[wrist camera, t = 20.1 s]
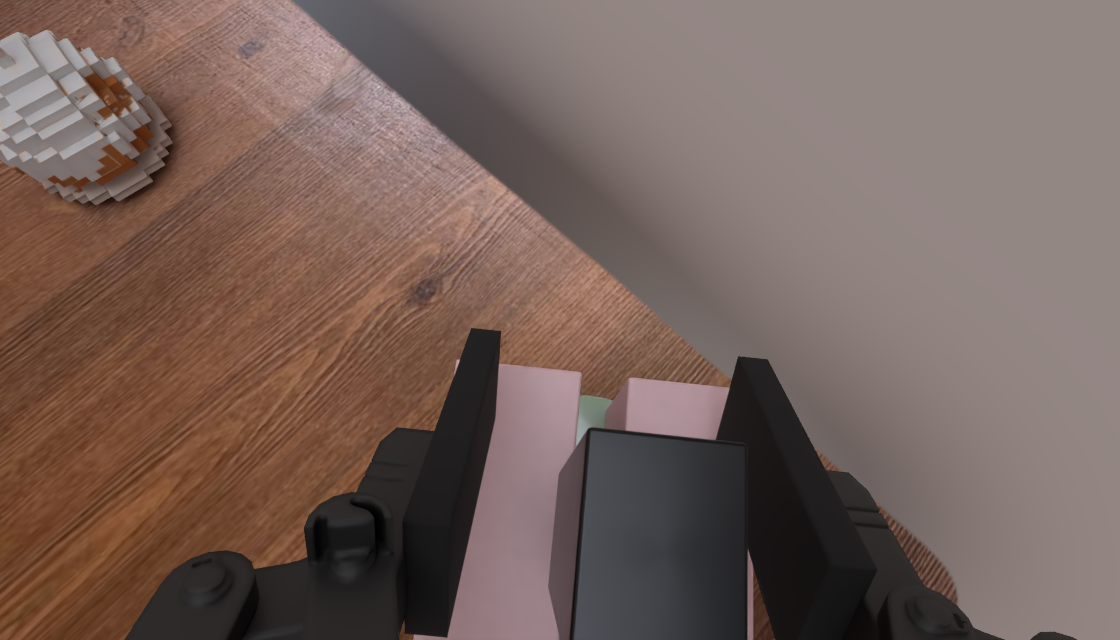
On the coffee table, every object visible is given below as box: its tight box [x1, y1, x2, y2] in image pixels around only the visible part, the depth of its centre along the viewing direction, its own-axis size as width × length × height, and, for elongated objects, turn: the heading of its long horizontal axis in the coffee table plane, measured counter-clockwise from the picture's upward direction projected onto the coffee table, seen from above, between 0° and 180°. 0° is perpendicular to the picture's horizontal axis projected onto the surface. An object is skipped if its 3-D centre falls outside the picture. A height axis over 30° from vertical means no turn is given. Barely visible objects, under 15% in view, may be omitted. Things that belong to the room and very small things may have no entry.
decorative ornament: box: [0, 30, 173, 205], centre depth 30 cm, size 8×8×15 cm
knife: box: [548, 427, 748, 640], centre depth 15 cm, size 2×4×16 cm, turn 174°
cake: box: [413, 359, 753, 640], centre depth 20 cm, size 9×9×6 cm
